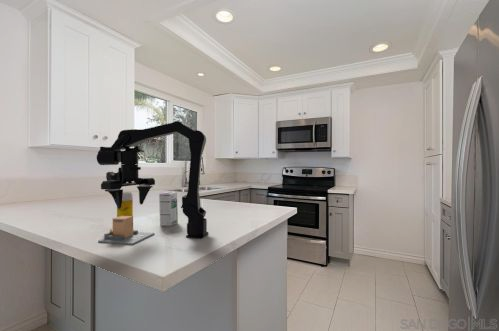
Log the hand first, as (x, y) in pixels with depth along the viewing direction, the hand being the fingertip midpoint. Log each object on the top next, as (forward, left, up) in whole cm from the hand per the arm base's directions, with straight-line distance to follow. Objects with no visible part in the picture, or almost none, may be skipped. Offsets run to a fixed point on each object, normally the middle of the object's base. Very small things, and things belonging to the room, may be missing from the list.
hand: (130, 206), depth 88 cm
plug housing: (+3, +1, -11) cm, 11 cm away
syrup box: (-3, -20, -12) cm, 23 cm away
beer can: (+14, -13, -12) cm, 22 cm away
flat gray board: (+1, +1, -12) cm, 12 cm away
